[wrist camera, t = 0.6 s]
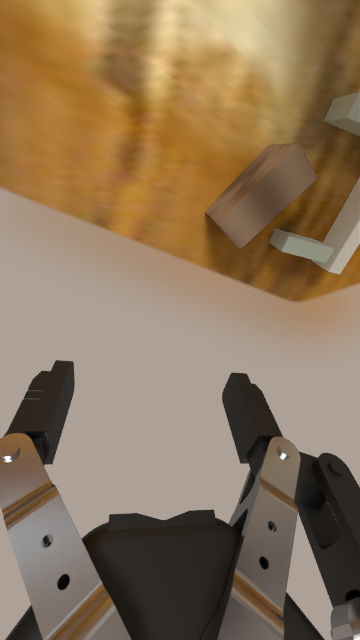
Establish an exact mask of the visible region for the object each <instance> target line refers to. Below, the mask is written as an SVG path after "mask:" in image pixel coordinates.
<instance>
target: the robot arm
mask: <svg viewBox="0 0 360 640" xmlns="http://www.w3.org/2000/svg"><path fill="white" fill-rule="evenodd" d="M73 392H74V364H73V361H59V360H57V361H55V363H54V365H53V368H52V370H51V371H41V372H40V373H39V374H38V375H37V376H36V377H35V378H34V379H33V380H32V382H31V384H30V386H29V388H28V391H27V392H26V394H25V397H24V400H22V403H21V404H20V407H19V409H18V411H17V413H16V415H15V417H14V419H13V421H12V423H11V425H10V427H9V429H8V431H7V433H6V434H5V435H4V437H2V438H1V439H0V506H1V509H2V512H3V516H4V520H5V524H6V528H7V531H8V534H9V537H10V540H11V543H12V546H13V549H14V552H15V555H16V559H17V562H18V564H19V568H20V571H21V574H22V577H23V580H24V583H25V586H26V589H27V592H28V596H29V598H30V602H31V606H30V607H29V609H28V610H27V611H26V612H25V614H24V615H23V617H22V618H21V619H20V621H19V622H18V623H17V625H16V626H15V627H14V629H13V630H12V632H11V633H10V634H9V635H8V637H7V638H6V639H5V640H324V638H323V637H322V636H321V635H320V633H319V632H318V631H317V629H316V628H315V627H314V626H313V625H312V623H311V622H310V621H309V620H308V619H307V617H306V616H305V615H304V613H303V612H302V611H301V610H300V608H299V607H298V606H297V605H296V603H295V602H294V601H293V600H292V598H291V597H290V596H289V595H288V593H287V592H286V588H287V582H288V575H289V568H290V562H291V555H292V548H293V542H294V535H295V529H296V522H297V515H298V513H299V516H300V518H301V521H302V524H303V526H304V529H305V532H306V535H307V537H308V540H309V543H310V545H311V548H312V551H313V554H314V557H315V559H316V562H317V565H318V568H319V570H320V573H321V576H322V579H323V581H324V584H325V587H326V590H327V592H328V595H329V598H330V600H331V603H332V606H333V610H332V613H331V638H332V640H360V487H359V486H358V484H357V482H356V480H355V479H354V477H353V475H352V473H351V472H350V470H349V468H348V467H347V465H346V464H345V463H344V462H343V461H342V460H341V459H340V458H338V457H337V456H335V455H333V454H330V453H322V454H321V455H320V456H319V457H318V458H316V457H314V456H311V455H308V454H305V453H302V452H299V451H298V450H297V448H296V447H295V446H294V444H293V443H291V442H290V441H289V440H287V439H285V438H283V436H282V434H281V431H280V429H279V427H278V425H277V423H276V421H275V419H274V416H273V414H272V412H271V410H270V409H269V406H268V404H267V402H266V399H265V397H264V395H263V393H262V391H261V390H260V389H259V388H258V387H257V386H256V385H255V384H251V382H250V380H249V377H248V375H247V374H244V373H231V374H230V377H229V379H228V381H227V383H226V386H225V388H224V391H223V394H222V401H223V405H224V408H225V412H226V415H227V419H228V422H229V426H230V429H231V432H232V436H233V439H234V442H235V446H236V449H237V453H238V456H239V460H240V463H249V466H250V471H249V473H248V475H247V478H246V481H245V484H244V487H243V490H242V493H241V496H240V498H239V501H238V504H237V507H236V509H235V511H234V513H233V515H232V517H231V519H230V522H229V524H227V523H226V522H224V521H222V520H220V519H218V518H215V514H214V510H196V511H188V512H185V513H183V514H180V515H178V516H175V517H173V518H170V519H168V520H159V519H156V518H152V517H149V516H145V515H141V514H138V513H132V514H110V515H109V522H108V523H105V524H102V525H100V526H98V527H97V528H95V529H93V530H92V531H91V532H89V533H88V534H87V535H85V536H84V537H83V538H82V539H81V538H80V535H79V533H78V531H77V529H76V527H75V525H74V523H73V521H72V519H71V517H70V515H69V512H68V510H67V508H66V506H65V504H64V502H63V500H62V498H61V496H60V494H59V492H58V490H57V488H56V486H55V485H54V484H52V482H51V480H50V478H49V476H48V474H47V472H46V470H45V467H44V465H45V464H53V460H54V457H55V453H56V450H57V447H58V444H59V440H60V437H61V433H62V430H63V427H64V423H65V420H66V417H67V413H68V410H69V407H70V403H71V400H72V397H73ZM294 502H295V503H294ZM328 503H329V504H328ZM332 512H333V513H332ZM333 514H334V515H333ZM337 523H338V524H337ZM338 525H339V526H338Z"/></svg>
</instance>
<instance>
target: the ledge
mask: <svg viewBox="0 0 360 640" xmlns="http://www.w3.org/2000/svg"><path fill="white" fill-rule="evenodd" d="M324 122H326V123H328V124H331V125H333V126H335V127H338V128H340V129H342V130H345V131H347V132H349V133H352V134H354V135H356V136H359V137H360V92H356V93H353V94H349V95H346V96H342V97H339V98H335V99H333V101H332V103H331V105H330V108H329V110H328V112H327V114H326V117H325V119H324ZM269 243H270V244H272V245H273V246H274V247H276V248H277V249H279V250H280V251H281V252H285V253H289V254H293V255H296V256H300V257H304V258H308V259H312V262H314V263H316V264H317V265H319V266H320V267H322V268H323V269H325V270H326V271H328V272H332V273H336V274H340V273H341V272H342V270H343V269H344V267H345V266H346V264H347V262H348V261H349V259H350V258H351V256H352V255H353V253H354V251H355V250H356V248H357V247H358V245H359V244H360V177H359V179H358V180H357V182H356V184H355V186H354V187H353V189H352V191H351V193H350V195H349V196H348V198H347V200H346V202H345V204H344V205H343V207H342V209H341V211H340V212H339V214H338V216H337V218H336V220H335V221H334V223H333V225H332V227H331V228H330V230H329V232H328V234H327V236H326V237H325V239H324V241H323V243H322V242H320V241H318V240H315V239H311V238H308V237H304V236H301V235H297V234H294V233H290V232H287V231H283V230H280V229H276V228H275V230H274V232H273V234H272V236H271V238H270V241H269Z"/></svg>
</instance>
